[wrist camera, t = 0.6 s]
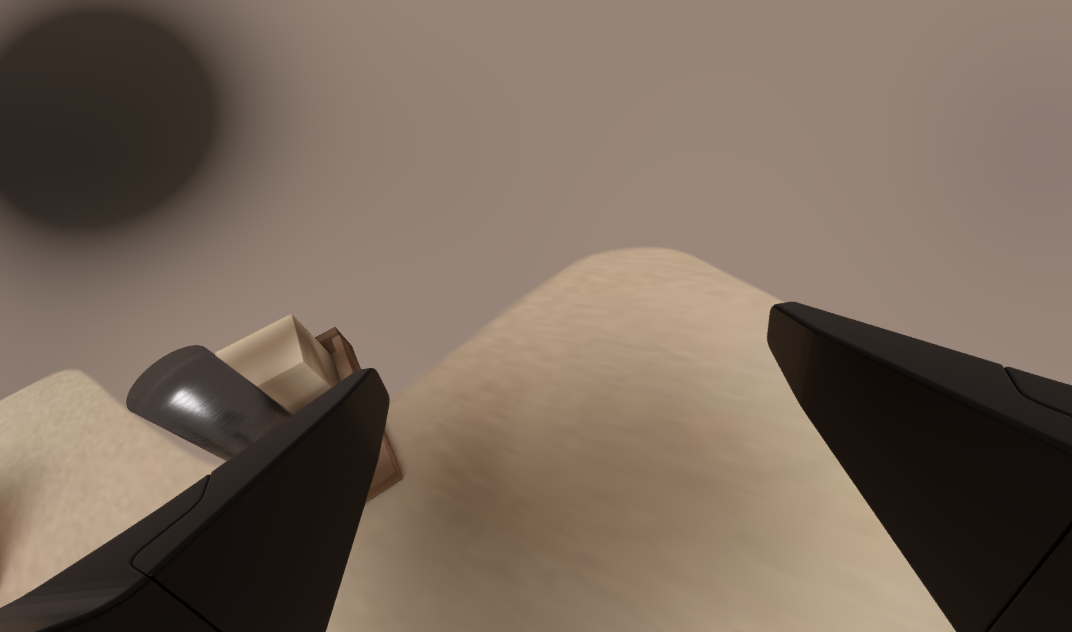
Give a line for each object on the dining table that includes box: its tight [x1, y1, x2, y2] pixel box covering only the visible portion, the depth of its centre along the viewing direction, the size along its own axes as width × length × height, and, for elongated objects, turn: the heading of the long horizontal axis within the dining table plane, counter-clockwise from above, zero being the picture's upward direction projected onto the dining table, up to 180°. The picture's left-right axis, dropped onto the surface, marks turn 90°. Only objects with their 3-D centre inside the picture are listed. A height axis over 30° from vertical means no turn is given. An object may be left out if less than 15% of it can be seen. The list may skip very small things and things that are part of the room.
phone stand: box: [126, 327, 402, 502], centre depth 23 cm, size 13×8×12 cm, turn 32°
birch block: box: [216, 314, 341, 414], centre depth 27 cm, size 5×5×5 cm
